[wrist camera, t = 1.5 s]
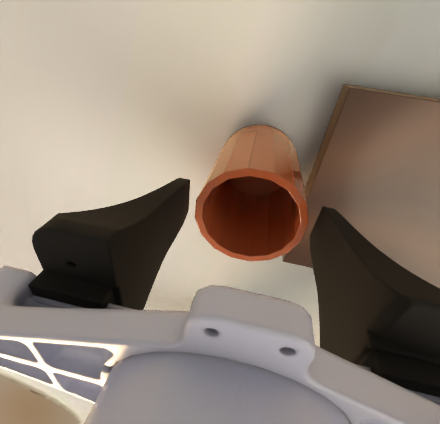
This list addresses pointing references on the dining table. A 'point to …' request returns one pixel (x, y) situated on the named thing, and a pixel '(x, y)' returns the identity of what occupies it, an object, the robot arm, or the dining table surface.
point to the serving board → (381, 177)
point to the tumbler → (254, 196)
